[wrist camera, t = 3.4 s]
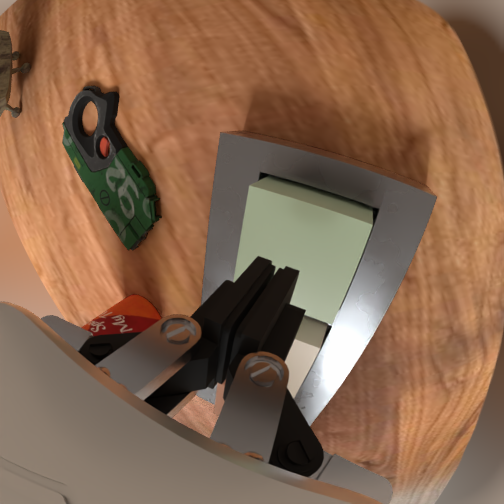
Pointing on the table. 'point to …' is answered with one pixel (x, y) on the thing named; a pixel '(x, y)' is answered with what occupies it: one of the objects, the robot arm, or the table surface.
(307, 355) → the cream button
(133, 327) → the paper cup
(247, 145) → the button panel
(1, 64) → the tabletop clock
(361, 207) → the sage green button
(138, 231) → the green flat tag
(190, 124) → the table surface
